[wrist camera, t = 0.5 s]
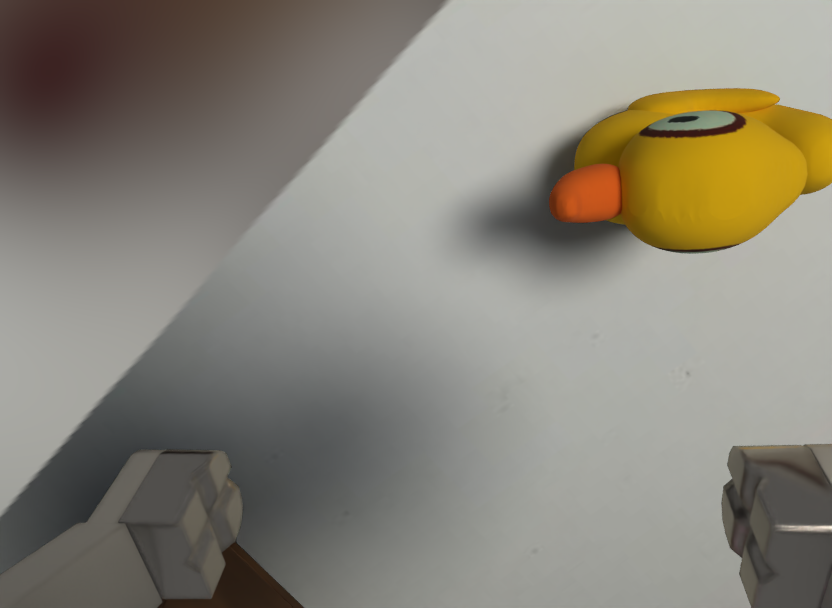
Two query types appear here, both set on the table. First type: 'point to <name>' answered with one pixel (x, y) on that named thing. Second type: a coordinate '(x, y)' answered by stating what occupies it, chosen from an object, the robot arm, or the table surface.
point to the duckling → (696, 167)
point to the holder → (240, 587)
